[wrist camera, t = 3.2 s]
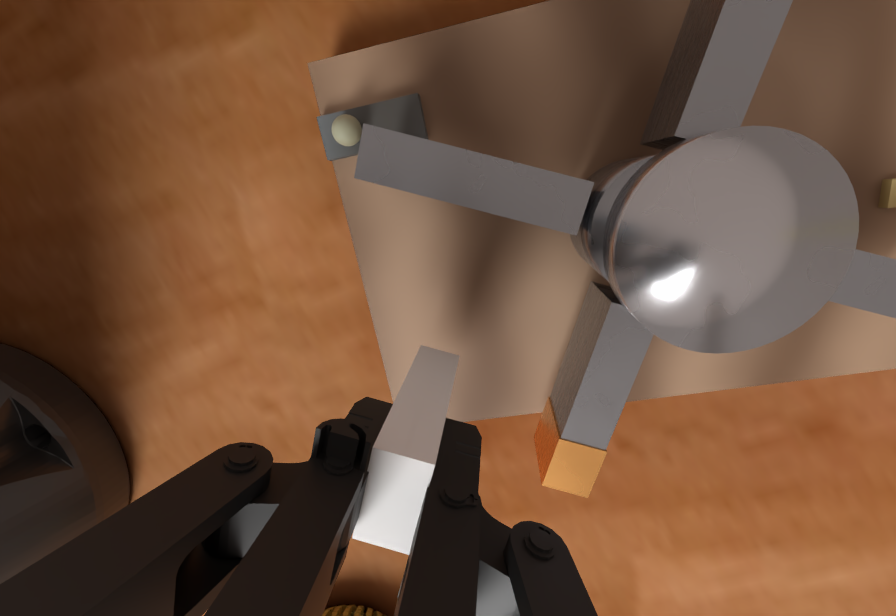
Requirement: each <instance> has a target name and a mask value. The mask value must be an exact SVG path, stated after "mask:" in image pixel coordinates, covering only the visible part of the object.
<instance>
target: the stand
mask: <svg viewBox="0 0 896 616" xmlns="http://www.w3.org/2000/svg"><path fill="white" fill-rule="evenodd" d="M690 1H691V0H549V1H545V2H542V3H538V4H534V5H530V6H526V7H522V8H518V9H515V10H511V11H507V12H503V13H499V14H495V15H491V16H488V17H484V18H480V19H476V20H472V21H468V22H464V23H461V24H457V25H453V26H449V27H445V28H441V29H437V30H434V31H430V32H426V33H422V34H418V35H414V36H410V37H407V38H403V39H399V40H395V41H391V42H387V43H384V44H380V45H376V46H372V47H368V48H364V49H360V50H357V51H353V52H349V53H345V54H341V55H337V56H333V57H330V58H326V59H322V60H318V61H314V62H310V63H308V67H309V71H310V75H311V79H312V83H313V87H314V91H315V95H316V99H317V103H318V107H319V111H320V115H321V116H319V117H317V121H318V124H319V128H320V132H321V136H322V140H323V144H324V148H325V152H326V156H327V160H330V161H332V162H333V166H334V170H335V174H336V178H337V182H338V186H339V190H340V194H341V198H342V202H343V206H344V210H345V214H346V218H347V222H348V225H349V229H350V233H351V237H352V241H353V245H354V249H355V253H356V257H357V261H358V265H359V269H360V273H361V277H362V281H363V285H364V289H365V293H366V297H367V301H368V304H369V308H370V312H371V316H372V320H373V324H374V328H375V332H376V336H377V340H378V344H379V348H380V352H381V356H382V360H383V364H384V368H385V372H386V376H387V380H388V384H389V387H390V391H391V395H392V399H393V403H394V401H395V399H396V397H397V395H398V393H399V390H400V388H401V386H402V384H403V382H404V380H405V378H406V376H407V374H408V371H409V369H410V367H411V365H412V363H413V361H414V359H415V357H416V355H417V352H418V350H419V348H420V346H421V345H423V346H426V347H430V348H434V349H437V350H441V351H445V352H448V353H452V354H456V355H459V361H458V365H457V370H456V374H455V379H454V383H453V388H452V392H451V397H450V401H449V406H448V410H447V415H446V418H449V419H453V420H456V421H460V422H467V421H475V420H483V419H491V418H499V417H507V416H516V415H524V414H532V413H540V412H543V410H544V407H545V404H546V401H547V399H548V397H550V395H551V392H552V389H553V386H554V384H555V381H556V378H557V375H558V372H559V369H560V367H561V364H562V361H563V358H564V355H565V353H566V350H567V347H568V344H569V341H570V339H571V336H572V333H573V330H574V327H575V324H576V322H577V319H578V316H579V313H580V310H581V308H582V305H583V302H584V299H585V296H586V293H587V291H588V288H589V285H590V282H591V281H592V282H596V283H600V284H604V285H608V286H610V284H609V282H608V281H607V280H606V279H605V278H604V277H602V276H601V275H600V274H599V273H598V272H597V271H596V270H594V269H593V268H592V267H591V266H590V265H589V264H588V263H586V262H585V261H584V260H583V259H582V258H581V256H580V255H579V254H578V252H577V251H576V249H575V248H574V245H573V243H572V240H571V237H570V234H568V233H564V232H560V231H556V230H552V229H549V228H545V227H541V226H537V225H533V224H529V223H525V222H522V221H518V220H514V219H510V218H506V217H502V216H498V215H495V214H491V213H487V212H483V211H479V210H475V209H471V208H467V207H464V206H460V205H456V204H452V203H448V202H444V201H440V200H437V199H433V198H429V197H425V196H421V195H417V194H413V193H410V192H406V191H402V190H398V189H394V188H390V187H386V186H383V185H379V184H375V183H371V182H367V181H363V180H359V179H356V178H354V175H355V169H356V163H357V158H358V152H359V146H360V140H361V134H362V128H363V123H365V124H369V125H373V126H376V127H380V128H384V129H388V130H392V131H396V132H400V133H404V134H408V135H412V136H416V137H419V138H423V139H427V140H431V141H435V142H439V143H443V144H447V145H451V146H455V147H459V148H462V149H466V150H470V151H474V152H478V153H482V154H486V155H490V156H494V157H498V158H502V159H505V160H509V161H513V162H517V163H521V164H525V165H529V166H533V167H537V168H541V169H545V170H548V171H552V172H556V173H560V174H564V175H568V176H572V177H576V178H580V179H584V180H587V179H588V178H589V177H590V176H591V175H592V174H593V173H595V172H596V171H598V170H599V169H601V168H602V167H604V166H606V165H608V164H610V163H613V162H616V161H620V160H624V159H630V158H637V157H643V156H649V155H655V154H658V153H659V152H661V151H662V150H660V149H656V148H652V147H648V146H644V145H640V142H641V139H642V136H643V133H644V130H645V127H646V125H647V122H648V119H649V116H650V113H651V111H652V108H653V105H654V102H655V99H656V96H657V94H658V91H659V88H660V85H661V82H662V80H663V77H664V74H665V71H666V68H667V66H668V63H669V60H670V57H671V54H672V51H673V49H674V46H675V43H676V40H677V37H678V35H679V32H680V29H681V26H682V23H683V20H684V18H685V15H686V12H687V9H688V6H689V4H690ZM744 126H771V127H777V128H782V129H787V130H790V131H793V132H796V133H799V134H802V135H804V136H806V137H808V138H809V139H811V140H813V141H815V142H817V143H818V144H819V145H821V146H822V147H823V148H825V149H826V150H828V151H829V152H830V154H831V155H832V156H833V157H834V158H835V159H836V160H837V161H838V162H839V163H840V165H841V166H842V168H843V169H844V170H845V172H846V173H847V175H848V177H849V180H850V182H851V184H852V186H853V189H854V192H855V195H856V199H857V204H858V212H859V233H858V239H857V245H856V249H857V250H861V251H865V252H869V253H873V254H877V255H881V256H885V257H889V258H892V259H896V0H793V2H792V4H791V6H790V9H789V11H788V14H787V16H786V18H785V21H784V23H783V26H782V28H781V30H780V33H779V35H778V38H777V40H776V42H775V45H774V47H773V50H772V52H771V54H770V57H769V59H768V62H767V64H766V66H765V69H764V71H763V74H762V76H761V78H760V81H759V83H758V86H757V88H756V90H755V93H754V95H753V98H752V100H751V102H750V105H749V107H748V110H747V112H746V114H745V117H744V119H743V122H742V124H741V126H740V127H744ZM889 369H896V318H892V317H888V316H885V315H881V314H877V313H873V312H869V311H865V310H861V309H858V308H854V307H850V306H846V305H842V304H838V303H834V302H830V301H828V302H827V303H826V304H825V305H824V306H823V307H822V308H821V309H820V310H819V311H818V312H817V313H816V314H815V315H814V316H813V317H811V318H810V319H809V320H808V321H807V322H805V323H804V324H803V325H802V326H800V327H798V328H797V329H795V330H794V331H792V332H791V333H789V334H787V335H786V336H784V337H782V338H780V339H778V340H776V341H774V342H771V343H768V344H766V345H763V346H761V347H757V348H753V349H750V350H746V351H740V352H733V353H718V354H714V353H701V352H696V351H691V350H686V349H683V348H680V347H677V346H674V345H672V344H670V343H668V342H666V341H664V340H662V339H660V338H659V337H657V336H656V335H653V338H652V340H651V342H650V345H649V347H648V350H647V352H646V354H645V357H644V359H643V362H642V364H641V366H640V369H639V371H638V374H637V376H636V378H635V381H634V383H633V386H632V388H631V390H630V393H629V395H628V398H627V400H626V402H629V401H637V400H645V399H653V398H662V397H670V396H678V395H686V394H694V393H702V392H710V391H718V390H726V389H735V388H743V387H751V386H759V385H767V384H775V383H783V382H791V381H799V380H808V379H816V378H824V377H832V376H840V375H848V374H856V373H864V372H872V371H881V370H889Z"/></svg>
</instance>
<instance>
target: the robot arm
mask: <svg viewBox="0 0 896 616" xmlns="http://www.w3.org/2000/svg"><path fill="white" fill-rule="evenodd" d="M458 361H459V355H456V354H452V353H448V352H445V351H441V350H437V349H434V348H430V347H426V346H423V345H421V346H420V348H419V350H418V352H417V355H416V357H415V359H414V361H413V363H412V365H411V367H410V369H409V371H408V374H407V376H406V378H405V380H404V382H403V384H402V386H401V388H400V390H399V393H398V395H397V397H396V399H395V401H394V403H393V404H391V403H387V402H384V401H380V400H377V399H373V398H369V397H365V398H363V399H362V400H360V401H358V402H356V403H355V404H354V406H353V407H352V409H351V410H350V412H349V414H348V415H347V416H346V418H345V419H331V420H328V421H325V422H322V423H321V424H320V425H319V426H318V427H316V431H315V437H314V443H313V449H312V454H311V458H310V459H309V461H306V462H301V463H273V457H272V455H271V452H270V451H269V450H267V449H266V448H265V447H263V446H261V445H258V444H254V443H243V442H240V443H235V444H229V445H227V446H225V447H222V448H220V449H218V450H216V451H215V452H213V453H211V454H210V455H208V456H207V457H205V458H203V459H202V460H200V461H198V462H197V463H195V464H194V465H192V466H190V467H189V468H187V469H186V470H184V471H182V472H181V473H179V474H177V475H176V476H174V477H173V478H171V479H169V480H168V481H166V482H165V483H163V484H161V485H160V486H158V487H156V488H155V489H153V490H152V491H150V492H148V493H147V494H145V495H144V496H142V497H140V498H139V499H137V500H135V501H134V502H132V503H131V504H129V505H128V502H129V494H130V482H129V474H128V468H127V464H126V460H125V457H124V454H123V451H122V449H121V446H120V444H119V441H118V439H117V437H116V435H115V434H114V432H113V430H112V428H111V427H110V425H109V423H108V422H107V420H106V419H105V417H104V416H103V414H102V413H101V412H100V411H99V409H98V408H97V407H96V405H95V404H94V403H93V402H92V401H91V400H90V399H89V398H88V396H87V395H86V394H85V393H84V392H83V391H82V390H81V389H80V388H78V387H77V386H76V385H75V384H74V383H73V382H72V381H71V380H69V379H68V378H67V377H66V376H64V375H63V374H62V373H60V372H59V371H58V370H56V369H55V368H53V367H52V366H50V365H49V364H47V363H45V362H44V361H42V360H40V359H38V358H36V357H34V356H33V355H31V354H28V353H26V352H24V351H22V350H19V349H17V348H14V347H11V346H8V345H5V344H2V343H0V616H202V615H203V614H204V613H205V612H206V611H207V612H206V613H205V615H204V616H322V614H323V612H324V609H325V607H326V604H327V602H328V599H329V597H330V595H331V592H332V590H333V587H334V585H335V582H336V580H337V577H338V575H339V572H340V570H341V567H342V565H343V562H344V560H345V557H346V553H347V549H348V544H349V540H350V538H351V535H352V533H353V537H352V538H353V539H356V540H360V541H363V542H367V543H370V544H373V545H377V546H380V547H384V548H387V549H391V550H394V551H397V552H401V553H404V554H408V555H409V557H408V561H407V565H406V568H405V572H404V575H403V579H402V583H401V586H400V590H399V593H398V600H397V604H396V608H395V613H394V616H598V615H597V613H596V611H595V608H594V606H593V604H592V602H591V599H590V597H589V595H588V593H587V590H586V588H585V586H584V584H583V581H582V579H581V577H580V575H579V572H578V570H577V568H576V566H575V563H574V561H573V559H572V557H571V555H570V552H569V550H568V548H567V546H566V545H565V543H564V542H563V540H562V538H561V537H560V536H559V535H557V534H556V533H555V532H554V531H553V530H552V529H550V528H548V527H546V526H545V525H543V524H540V523H537V522H533V521H523V522H519V523H518V524H516V525H514V526H513V528H512V529H511V528H509V527H508V526H506V525H504V524H502V523H501V522H499V521H497V520H496V519H495V518H493V517H492V516H491V515H490V514H489V513H488V512H487V511H486V510H485V509H484V508H483V506H482V503H481V498H480V496H479V495H478V486H479V470H480V455H481V440H482V437H481V435H480V433H479V431H478V429H477V427H476V426H474V425H471V424H467V423H463V422H460V421H456V420H453V419H449V418H446V415H447V410H448V406H449V401H450V397H451V392H452V388H453V383H454V379H455V374H456V370H457V365H458ZM353 531H354V532H353Z"/></svg>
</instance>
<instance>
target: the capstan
mask: <svg viewBox="0 0 896 616" xmlns="http://www.w3.org/2000/svg"><path fill="white" fill-rule="evenodd" d="M792 2H793V0H691V1H690V4H689V6H688V9H687V12H686V15H685V18H684V20H683V23H682V26H681V29H680V32H679V35H678V37H677V40H676V43H675V46H674V49H673V51H672V54H671V57H670V60H669V63H668V66H667V68H666V71H665V74H664V77H663V80H662V82H661V85H660V88H659V91H658V94H657V96H656V99H655V102H654V105H653V108H652V111H651V113H650V116H649V119H648V122H647V125H646V127H645V130H644V133H643V136H642V139H641V142H640V145H644V146H648V147H652V148H656V149H660V150H662V151H661V152H659V153H658V154H655V155H649V156H643V157H637V158H630V159H624V160H620V161H616V162H613V163H610V164H608V165H606V166H604V167H602V168H601V169H599V170H598V171H596V172H595V173H593V174H592V175H591V176H590V177H589V178H588V179H587V180H584V179H580V178H576V177H572V176H568V175H564V174H560V173H556V172H552V171H548V170H545V169H541V168H537V167H533V166H529V165H525V164H521V163H517V162H513V161H509V160H505V159H502V158H498V157H494V156H490V155H486V154H482V153H478V152H474V151H470V150H466V149H462V148H459V147H455V146H451V145H447V144H443V143H439V142H435V141H431V140H427V139H423V138H419V137H416V136H412V135H408V134H404V133H400V132H396V131H392V130H388V129H384V128H380V127H376V126H373V125H369V124H365V123H363V128H362V134H361V140H360V146H359V152H358V158H357V163H356V169H355V175H354V178H356V179H359V180H363V181H367V182H371V183H375V184H379V185H383V186H386V187H390V188H394V189H398V190H402V191H406V192H410V193H413V194H417V195H421V196H425V197H429V198H433V199H437V200H440V201H444V202H448V203H452V204H456V205H460V206H464V207H467V208H471V209H475V210H479V211H483V212H487V213H491V214H495V215H498V216H502V217H506V218H510V219H514V220H518V221H522V222H525V223H529V224H533V225H537V226H541V227H545V228H549V229H552V230H556V231H560V232H564V233H568V234H570V237H571V240H572V243H573V245H574V248H575V249H576V251H577V252H578V254H579V255H580V256H581V258H582V259H583V260H584V261H585V262H586V263H588V264H589V265H590V266H591V267H592V268H593V269H594V270H596V271H597V272H598V273H599V274H600V275H601V276H602V277H604V278H605V279H606V280H607V281H608V282H609V284H610V286H608V285H604V284H600V283H596V282H592V281H591V282H590V285H589V288H588V291H587V293H586V296H585V299H584V302H583V305H582V308H581V310H580V313H579V316H578V319H577V322H576V324H575V327H574V330H573V333H572V336H571V339H570V341H569V344H568V347H567V350H566V353H565V355H564V358H563V361H562V364H561V367H560V369H559V372H558V375H557V378H556V381H555V384H554V386H553V389H552V392H551V395H550V397H548V399H547V401H546V404H545V407H544V410H543V413H542V416H541V418H540V421H539V424H538V427H537V430H536V433H535V435H534V440H535V446H536V452H537V459H538V465H539V471H540V477H541V483H542V486H546V487H550V488H553V489H557V490H561V491H564V492H568V493H572V494H575V495H579V496H583V497H586V498H588V496H589V494H590V492H591V489H592V487H593V484H594V482H595V480H596V477H597V475H598V473H599V470H600V468H601V465H602V463H603V461H604V458H605V456H606V453H607V450H606V448H607V446H608V443H609V441H610V438H611V436H612V434H613V431H614V429H615V426H616V424H617V422H618V419H619V417H620V414H621V412H622V410H623V407H624V405H625V402H626V400H627V398H628V395H629V393H630V390H631V388H632V386H633V383H634V381H635V378H636V376H637V374H638V371H639V369H640V366H641V364H642V362H643V359H644V357H645V354H646V352H647V350H648V347H649V345H650V342H651V340H652V338H653V335H656V336H657V337H659V338H660V339H662V340H664V341H666V342H668V343H670V344H672V345H674V346H677V347H680V348H683V349H686V350H691V351H696V352H701V353H714V354H718V353H733V352H740V351H746V350H750V349H753V348H757V347H761V346H763V345H766V344H768V343H771V342H774V341H776V340H778V339H780V338H782V337H784V336H786V335H787V334H789V333H791V332H792V331H794V330H795V329H797V328H798V327H800V326H802V325H803V324H804V323H805V322H807V321H808V320H809V319H810V318H811V317H813V316H814V315H815V314H816V313H817V312H818V311H819V310H820V309H821V308H822V307H823V306H824V305H825V304H826V303H827V302H828V301H830V302H834V303H838V304H842V305H846V306H850V307H854V308H858V309H861V310H865V311H869V312H873V313H877V314H881V315H885V316H888V317H892V318H896V259H892V258H889V257H885V256H881V255H877V254H873V253H869V252H865V251H861V250H857V249H856V245H857V239H858V233H859V212H858V204H857V199H856V195H855V192H854V189H853V186H852V184H851V182H850V180H849V177H848V175H847V173H846V172H845V170H844V169H843V168H842V166H841V165H840V163H839V162H838V161H837V160H836V159H835V158H834V157H833V156H832V155H831V154H830V152H829V151H828V150H826V149H825V148H823V147H822V146H821V145H819V144H818V143H817V142H815V141H813V140H811V139H809V138H808V137H806V136H804V135H802V134H799V133H796V132H793V131H790V130H787V129H782V128H777V127H771V126H744V127H740V126H741V124H742V122H743V119H744V117H745V114H746V112H747V110H748V107H749V105H750V102H751V100H752V98H753V95H754V93H755V90H756V88H757V86H758V83H759V81H760V78H761V76H762V74H763V71H764V69H765V66H766V64H767V62H768V59H769V57H770V54H771V52H772V50H773V47H774V45H775V42H776V40H777V38H778V35H779V33H780V30H781V28H782V26H783V23H784V21H785V18H786V16H787V14H788V11H789V9H790V6H791V4H792Z"/></svg>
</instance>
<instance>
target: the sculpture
mask: <svg viewBox="0 0 896 616" xmlns="http://www.w3.org/2000/svg"><path fill="white" fill-rule="evenodd" d="M364 610H365V608H364V606H358V607H357V606H356V605H347V606H346V605H340V606H334V607H330V608H328V609H324V612H323V614H322V616H364ZM372 611H373V609H371V608H367V611H366V614H365V616H386V615H384V614H383V615H382V613H381V612H379V611H374V613H373V615H372Z"/></svg>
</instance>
